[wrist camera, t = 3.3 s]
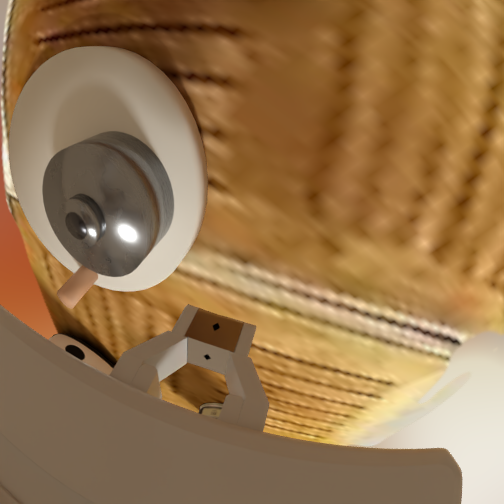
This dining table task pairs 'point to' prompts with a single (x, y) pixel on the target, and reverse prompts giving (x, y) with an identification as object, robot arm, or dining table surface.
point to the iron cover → (108, 201)
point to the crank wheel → (98, 121)
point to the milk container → (82, 352)
